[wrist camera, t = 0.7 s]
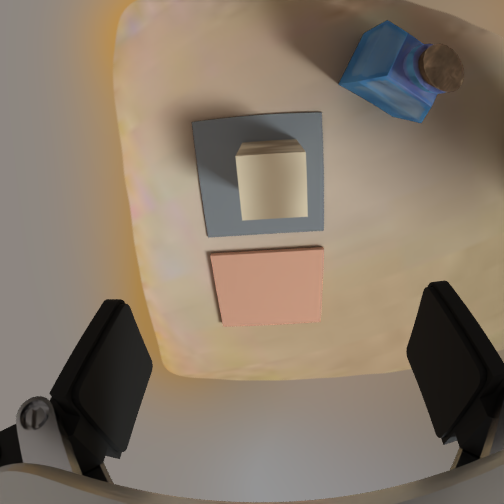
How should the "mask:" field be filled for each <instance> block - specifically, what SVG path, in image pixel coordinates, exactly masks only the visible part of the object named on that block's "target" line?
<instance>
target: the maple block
mask: <svg viewBox="0 0 504 504" xmlns="http://www.w3.org/2000/svg"><path fill="white" fill-rule="evenodd" d="M235 157H236V166H237V176H238V186H239V195H240V205H241V214H242V221H244V220H259V219H276V218H293V217H308V204H307V168H306V152H305V150H304V149H303V148H302V146H301V145H300V144H299V142H298V141H297V140H296V139H290V140H271V141H256V142H244V143H242V144H241V146H240V148H239V150H238V152H237V154H236V156H235Z"/></svg>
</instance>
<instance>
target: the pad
mask: <svg viewBox="0 0 504 504" xmlns="http://www.w3.org/2000/svg"><path fill="white" fill-rule="evenodd" d="M210 257H211V262H212V268H213V274H214V280H215V285H216V291H217V296H218V302H219V307H220V312H221V318H222V323H223V326H256V325H278V324H295V323H310V322H321V307H322V289H323V265H324V248H323V247H313V248H296V249H278V250H261V251H243V252H226V253H211V256H210Z"/></svg>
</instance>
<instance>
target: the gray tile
mask: <svg viewBox="0 0 504 504" xmlns="http://www.w3.org/2000/svg"><path fill="white" fill-rule="evenodd" d="M192 128H193V136H194V144H195V151H196V159H197V166H198V173H199V180H200V187H201V194H202V201H203V207H204V214H205V220H206V227H207V233H208V237H223V236H239V235H255V234H272V233H289V232H307V231H324V165H323V133H322V113H321V112H316V113H283V114H266V115H252V116H240V117H230V118H221V119H212V120H204V121H197V122H192ZM290 139H296V140H297V141H298V142H299V144H300V145H301V146H302V148H303V149H304V150H305V152H306V168H307V204H308V217H293V218H276V219H259V220H244V221H242V214H241V205H240V195H239V186H238V176H237V166H236V157H235V156H236V154H237V152H238V150H239V148H240V146H241V144H242V143H244V142H256V141H271V140H290Z"/></svg>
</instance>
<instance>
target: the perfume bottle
mask: <svg viewBox="0 0 504 504" xmlns="http://www.w3.org/2000/svg"><path fill="white" fill-rule="evenodd" d="M463 78H464V69H463V65H462V62H461V60H460V58H459V56H458V55H457V54H456V53H455V52H454V51H453V49H451V48H449V47H448V46H446V45H442V44H423V43H421V42H420V41H419V40H417V39H416V38H414V37H413V36H411V35H410V34H409V33H407V32H406V31H404V30H402V29H401V28H399V27H398V26H396V25H394V24H393V23H391V22H390V21H388V20H387V21H385V22H383V23H381V24H379V25H378V26H376V27H374V28H372V29H371V30H369V31H367V32H365V33H364V34H363V36H362V38H361V40H360V42H359V44H358V46H357V48H356V50H355V52H354V54H353V56H352V58H351V60H350V62H349V64H348V66H347V68H346V70H345V72H344V74H343V76H342V78H341V80H340V82H339V85H340V86H342V87H344V88H346V89H348V90H350V91H351V92H353V93H355V94H357V95H358V96H360V97H362V98H363V99H365V100H367V101H368V102H370V103H372V104H373V105H375V106H377V107H378V108H380V109H382V110H383V111H385V112H386V113H388V114H389V115H391V116H392V117H397V118H401V119H406V120H410V121H414V122H418V123H422V121H423V120H424V118H425V116H426V115H427V113H428V112H429V110H430V108H431V107H432V104H433V102H434V100H435V98H436V96H437V94H440V93H445V92H453V91H455V90H457V89H458V88H459V87H460V86H461V84H462V82H463Z"/></svg>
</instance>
